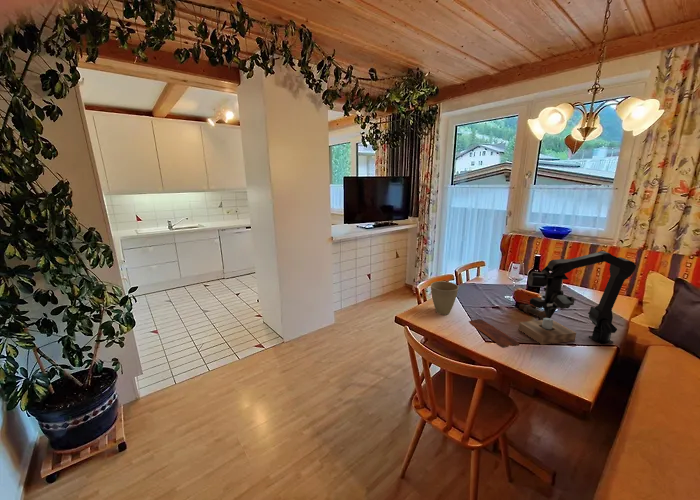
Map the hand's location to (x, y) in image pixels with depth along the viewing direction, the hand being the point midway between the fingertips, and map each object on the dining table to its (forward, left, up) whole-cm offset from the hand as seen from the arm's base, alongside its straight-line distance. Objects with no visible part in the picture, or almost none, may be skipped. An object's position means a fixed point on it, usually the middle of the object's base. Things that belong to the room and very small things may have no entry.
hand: (548, 318), depth 137 cm
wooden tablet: (+24, -8, -10) cm, 27 cm away
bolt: (-11, -20, -9) cm, 25 cm away
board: (0, 0, -9) cm, 9 cm away
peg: (0, 0, -9) cm, 9 cm away
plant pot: (+37, -33, -9) cm, 50 cm away
